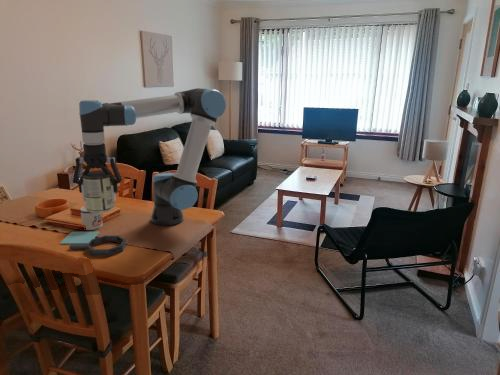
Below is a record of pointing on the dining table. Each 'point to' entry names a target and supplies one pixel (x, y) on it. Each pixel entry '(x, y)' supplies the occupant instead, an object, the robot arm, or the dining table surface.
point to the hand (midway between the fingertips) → (99, 200)
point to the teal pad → (79, 237)
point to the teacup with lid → (91, 219)
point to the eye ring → (98, 241)
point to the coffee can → (98, 191)
